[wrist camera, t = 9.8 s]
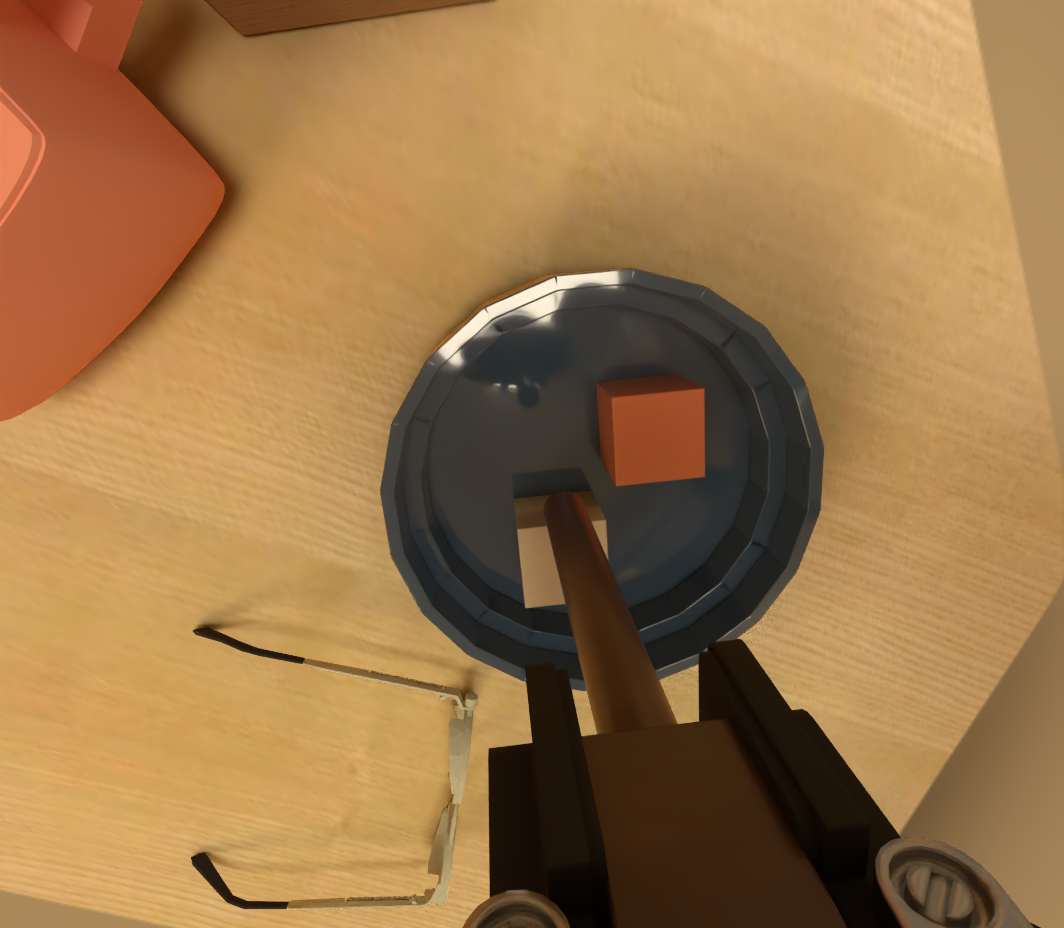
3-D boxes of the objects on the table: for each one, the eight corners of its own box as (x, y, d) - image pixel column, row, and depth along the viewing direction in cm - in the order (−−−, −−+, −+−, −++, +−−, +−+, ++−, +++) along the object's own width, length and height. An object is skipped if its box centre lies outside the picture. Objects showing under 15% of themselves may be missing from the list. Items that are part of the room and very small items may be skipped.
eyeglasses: (445, 878, 39) (439, 962, 35) (192, 863, 38) (149, 949, 33) (482, 644, 35) (480, 704, 30) (195, 615, 33) (145, 673, 28)
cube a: (678, 373, 30) (705, 387, 26) (679, 452, 31) (705, 477, 28) (595, 381, 30) (611, 397, 26) (600, 460, 31) (615, 486, 27)
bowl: (779, 253, 29) (835, 249, 25) (768, 612, 35) (812, 665, 30) (370, 290, 29) (345, 294, 24) (427, 650, 34) (416, 711, 30)
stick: (596, 472, 21) (899, 1014, 6) (600, 538, 22) (878, 1175, 6) (525, 479, 21) (638, 1051, 6) (531, 545, 22) (646, 1212, 6)
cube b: (592, 489, 32) (606, 519, 28) (596, 561, 33) (610, 599, 29) (513, 498, 32) (516, 529, 28) (520, 569, 33) (525, 608, 29)
